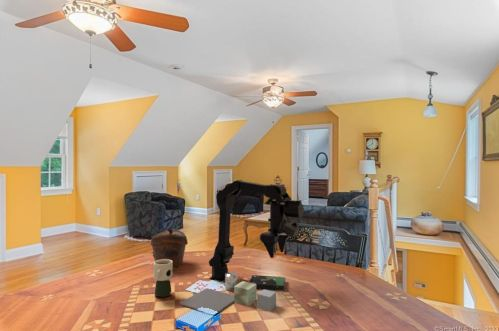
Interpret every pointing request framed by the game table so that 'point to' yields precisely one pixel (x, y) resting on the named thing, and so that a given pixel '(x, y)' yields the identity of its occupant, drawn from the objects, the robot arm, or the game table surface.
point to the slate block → (266, 300)
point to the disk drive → (268, 282)
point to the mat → (209, 300)
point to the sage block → (245, 293)
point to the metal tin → (230, 281)
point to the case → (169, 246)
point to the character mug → (163, 277)
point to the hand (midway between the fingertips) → (277, 254)
